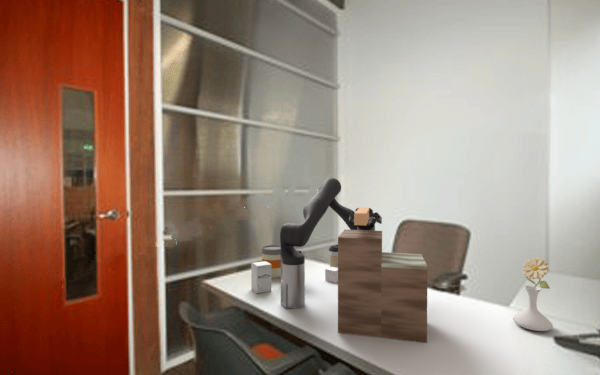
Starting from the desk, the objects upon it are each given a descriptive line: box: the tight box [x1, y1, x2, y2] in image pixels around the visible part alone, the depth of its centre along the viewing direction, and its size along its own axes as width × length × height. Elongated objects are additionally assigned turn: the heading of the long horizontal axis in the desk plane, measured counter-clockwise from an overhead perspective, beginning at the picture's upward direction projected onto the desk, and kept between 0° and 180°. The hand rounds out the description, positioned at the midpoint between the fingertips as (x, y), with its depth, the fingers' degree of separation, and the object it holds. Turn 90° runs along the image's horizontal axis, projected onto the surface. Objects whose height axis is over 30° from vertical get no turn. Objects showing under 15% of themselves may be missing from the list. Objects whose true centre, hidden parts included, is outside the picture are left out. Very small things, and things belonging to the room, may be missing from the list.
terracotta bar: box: [354, 206, 370, 225], centre depth 124 cm, size 24×4×4 cm, turn 165°
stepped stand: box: [337, 229, 428, 344], centre depth 117 cm, size 18×28×32 cm, turn 76°
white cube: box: [324, 266, 338, 284], centre depth 171 cm, size 6×6×6 cm
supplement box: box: [250, 261, 272, 294], centre depth 155 cm, size 7×7×13 cm
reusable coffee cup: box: [261, 244, 281, 279], centre depth 180 cm, size 13×13×15 cm
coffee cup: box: [328, 244, 338, 268], centre depth 185 cm, size 9×9×15 cm
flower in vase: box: [512, 256, 554, 332], centre depth 115 cm, size 13×11×25 cm
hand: (363, 210), depth 130 cm, fingers closed on terracotta bar, 4 cm apart
